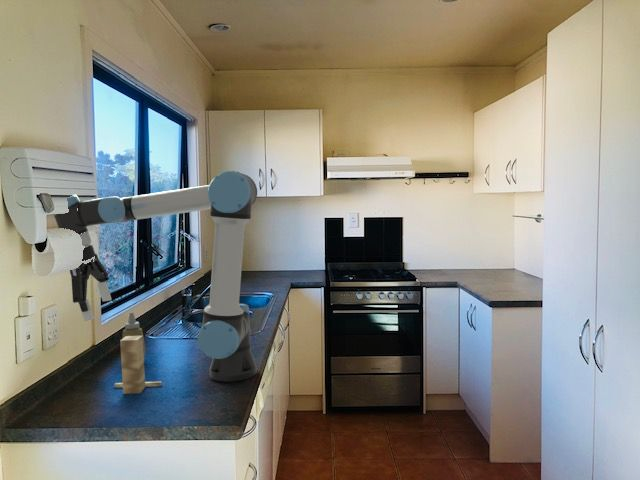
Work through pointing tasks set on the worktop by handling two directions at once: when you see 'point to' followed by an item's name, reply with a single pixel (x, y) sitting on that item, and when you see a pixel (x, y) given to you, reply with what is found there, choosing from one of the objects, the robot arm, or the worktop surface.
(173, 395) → the worktop surface
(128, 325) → the squeeze bottle
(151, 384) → the maple strip
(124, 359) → the oak block
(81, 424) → the worktop surface
